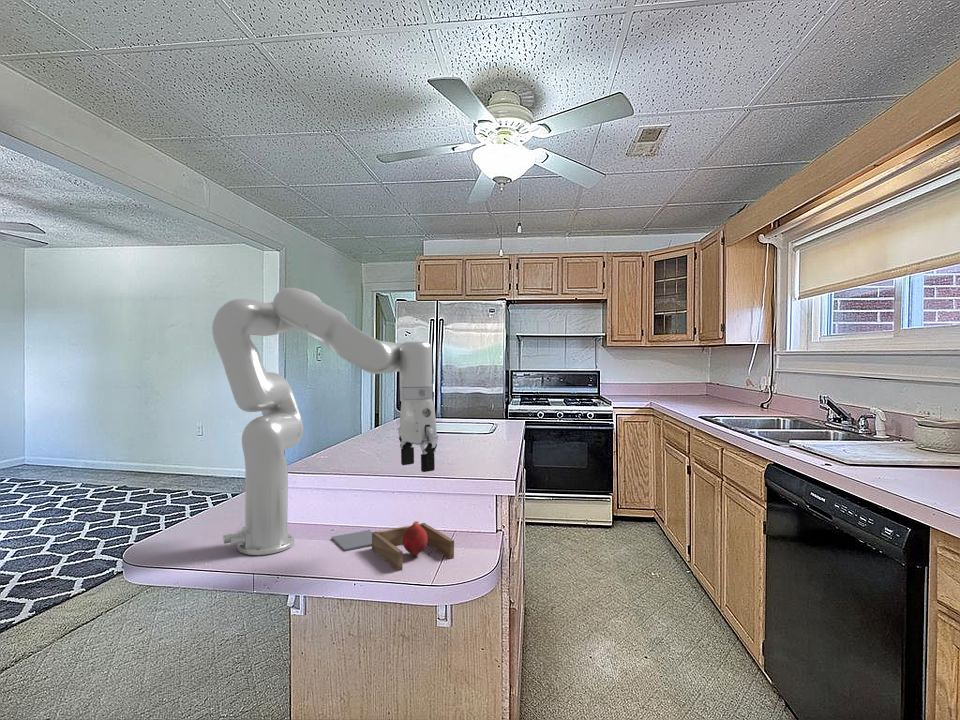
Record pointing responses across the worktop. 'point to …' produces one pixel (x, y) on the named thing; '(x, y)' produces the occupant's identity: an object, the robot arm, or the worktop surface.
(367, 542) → the mat
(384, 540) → the tan u-shaped frame
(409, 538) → the onion
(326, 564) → the worktop surface
